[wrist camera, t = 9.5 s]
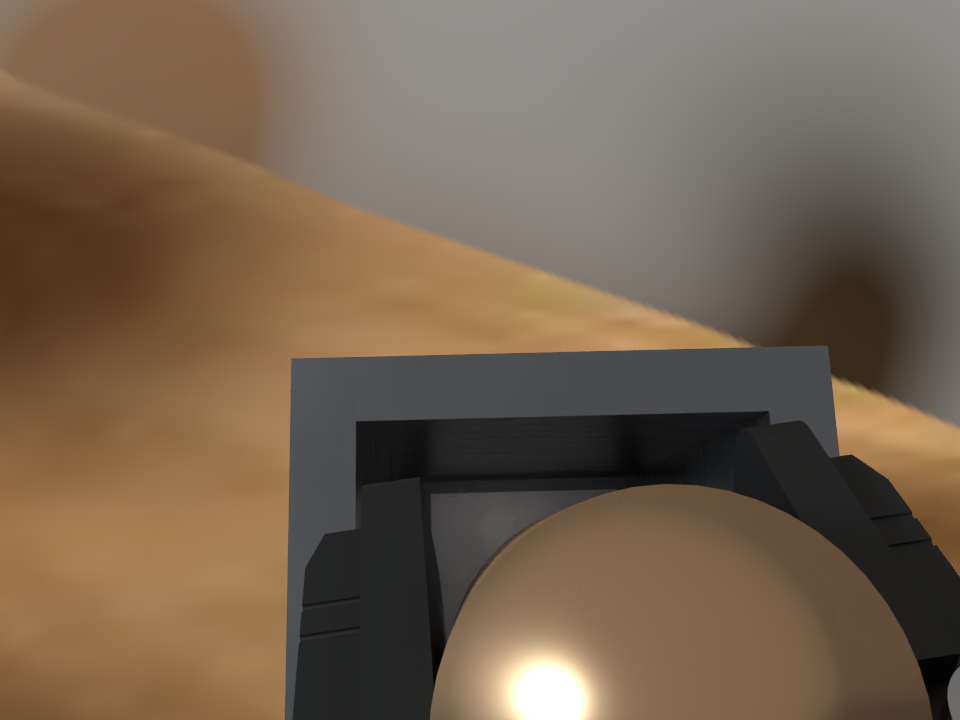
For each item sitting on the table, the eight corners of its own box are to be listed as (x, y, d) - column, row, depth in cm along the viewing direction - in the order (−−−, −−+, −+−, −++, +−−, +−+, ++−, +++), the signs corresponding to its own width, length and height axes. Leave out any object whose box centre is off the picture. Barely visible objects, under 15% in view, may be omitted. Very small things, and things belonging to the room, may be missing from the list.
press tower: (390, 730, 32) (280, 956, 15) (389, 453, 34) (291, 358, 17) (667, 723, 32) (889, 940, 15) (649, 447, 34) (827, 345, 17)
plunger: (434, 685, 31) (252, 1244, 6) (432, 495, 33) (272, 341, 8) (623, 680, 31) (1173, 1217, 6) (612, 490, 33) (1037, 322, 8)
